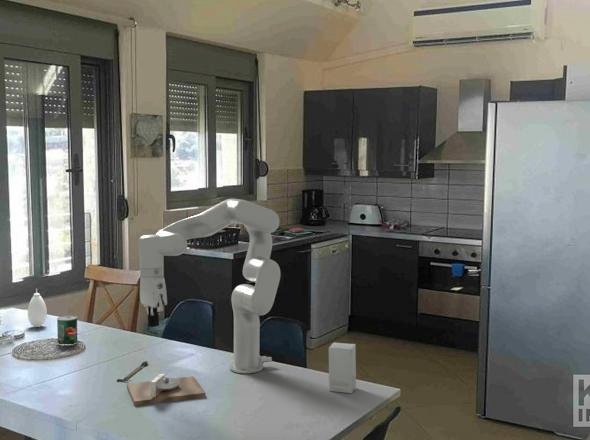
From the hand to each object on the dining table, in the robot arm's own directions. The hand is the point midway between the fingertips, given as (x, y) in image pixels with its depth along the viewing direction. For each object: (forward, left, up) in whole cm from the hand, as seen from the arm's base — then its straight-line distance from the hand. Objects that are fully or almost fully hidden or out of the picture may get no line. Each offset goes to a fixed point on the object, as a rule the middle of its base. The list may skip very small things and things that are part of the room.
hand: (153, 325), depth 229 cm
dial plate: (-3, +3, -22) cm, 23 cm away
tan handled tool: (+3, -19, -23) cm, 30 cm away
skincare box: (-60, +21, -22) cm, 68 cm away
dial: (-2, +6, -20) cm, 21 cm away
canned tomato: (+24, -66, -22) cm, 73 cm away
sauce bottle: (+35, -97, -22) cm, 105 cm away
